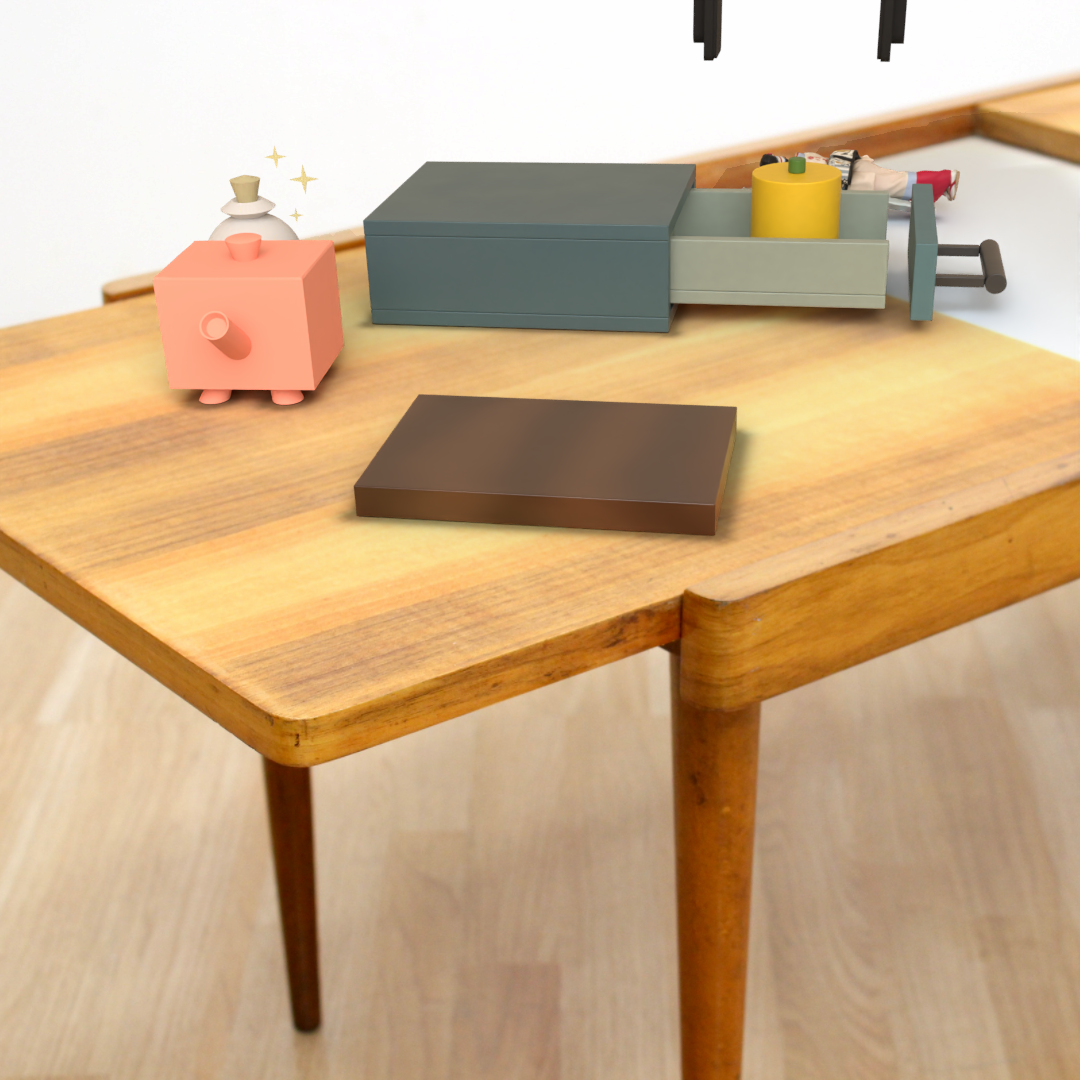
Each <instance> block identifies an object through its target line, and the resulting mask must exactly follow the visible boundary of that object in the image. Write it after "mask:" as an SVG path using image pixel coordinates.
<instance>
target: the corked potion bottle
mask: <svg viewBox="0 0 1080 1080" xmlns="http://www.w3.org/2000/svg"><path fill="white" fill-rule="evenodd" d="M264 158H266V159H271V160H273V161H274V162H273V163H274V164H275V167H276V169H278V160H280V159H283V158H287V156H286V155H281V154H278V152H277V150H276V146H275V145H273V154H272V155H269V156H268V155H267V156H264ZM316 180H318V178H317V177H311V176H307V174H306V171H305V168H304V165H303V164H302V165H301V174H300V176H299V177H294V178H290V179H289V181H294V182H299V183H301V184H302V187H303V191H304V194H305V195H306V194H307V183H309V182H312V181H316ZM260 181H261V177H259V176H256V175H248V174H243V175H238V176H236V177H233V178H230V179H229V181H228V182H229V183H230V186H231V188H232V189H231V190H232V191H233V193H234V196H235V197H233V198H231V199H230V200H229V201H228V202H227V203H225V204H224V205H223V206H221V207H220V212H221V213H222V214H223V213H224V214H225V215H228V216H229V217H227V218H225V219H224V220H222V221H221V222H220V223H219V224H217V226H216V227H215V228H214V230H213V231H212V232H211V234H210V236H209V237H208V240H207V241H225V239H226V238H227V237H229V236H231V235H234V234H238V233H255V234H259V235H261V240H300V238H299V237H298V234H297V233H296V232H295V231H294V229H293V228H292V227H291V226H290V225H289V224H288V223H286V222H285V221H284V220H283V219H281V218H279V217H277V216H275V215H273V214H271V213H269V212H270V211H272V210H274V209H275V208H276V206H277V205H276V203H275V202H274V201H271V200H270V199H267V198H265V197H263V196H262V195H258V194H259V189H260V183H261V182H260ZM288 216H289V217H294V219H295V221H296V222H298V220H299V219H298V217H302V216H304V214H300V213H298V211H297V208H296V207H295V208H294V214H293V213H292V214H290V215H288Z"/></svg>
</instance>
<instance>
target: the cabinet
mask: <svg viewBox="0 0 1080 1080" xmlns="http://www.w3.org/2000/svg"><path fill="white" fill-rule="evenodd" d="M696 177H697V164H696V163H635V162H634V163H633V162H631V163H630V162H626V163H624V162H537V161H536V162H535V161H533V162H532V161H525V162H524V161H521V162H520V161H519V162H518V161H435V160H434V161H432V160H431V161H426V162H424V163H423V164H422V165H421V166H420V167H419V168H418V169H417V170H416V171H415V172H413V174H412V175H410V176H409V177H408V178H407V179H406V180H405V181H404V182H402V184H400V186H399V187H398V188H396V190H394V191H393V192H392V193H391V194H389V196H387V198H386V199H385V200H384V201H382V202H381V203H380V204H379V205H377V207H376V208H375V209H373V211H371V212H370V213H369V214H368V215H367V216H366V217H365V218H364V219H363V220H362V224H363V234H364V235H363V236H364V247H365V258H366V268H367V279H368V280H367V281H368V290H369V291H368V293H369V303H370V311H371V313H370V314H371V322H372V324H377V325H378V324H380V325H406V326H410V325H411V326H412V325H413V326H437V327H438V326H441V327H442V326H443V327H474V328H476V327H477V328H503V329H505V328H506V329H507V328H508V329H510V328H511V329H541V330H542V329H543V330H568V331H569V330H570V331H571V330H573V331H604V332H605V331H606V332H607V331H608V332H634V333H635V332H637V333H639V332H640V333H641V332H642V333H669V332H670V329H671V327H672V324H673V321H674V318H675V317H676V314H677V310H678V308H679V305H680V303H670V236H671V234H672V231H673V229H674V227H675V224H676V222H677V220H678V217H679V215H680V213H681V210H682V208H683V206H684V203H685V201H686V199H687V196H688V194H689V192H690V190H691V188H697V178H696Z"/></svg>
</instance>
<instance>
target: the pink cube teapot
mask: <svg viewBox="0 0 1080 1080" xmlns="http://www.w3.org/2000/svg"><path fill="white" fill-rule="evenodd" d="M335 250H336V249H335V241H334V240H332V239H331V240H330V239H299V240H261V235H259V234H255V233H238V234H234V235H231V236H229V237H227V238H226V239H225V241H208V240H194V241H193V242H192V243H190V245H189V246H188V247H186V248H185V249H184V250H183V251H182V252H180V254H178V255H177V256H176V257H174V259H172V261H170V262H169V263H168V264H167V265H166V266H165V267H164V268H163V269H162V270H161V271H159V273H157V274H156V275H155V276H154V277H153V279H152V285H153V290H154V297H155V305H156V309H157V317H158V322H159V329H160V335H161V342H162V348H163V353H164V354H163V355H164V360H165V366H166V374H167V379H168V386H169V390H202V392H201V395H200V396H199V399H198V401H199V402H200V403H202V404H206V405H216V404H221V403H225V402H227V401H228V400H230V399H231V397H232V391H233V390H243V391H244V390H246V391H247V390H248V391H249V390H251V391H252V390H254V391H256V390H257V391H258V390H260V391H262V390H263V391H267V390H268V391H270V395H271V400H272V403H274V404H277V405H280V406H281V405H282V406H286V405H287V406H289V405H294V404H298V403H300V402H302V401H304V398H305V397H304V394H303V393H302V391H315V390H316V389H317V388H318V386H319V384H320V383H321V382H322V380H323V378H325V375H326V374H327V372H328V371H329V370H330V368H331V366H332V365H333V364H334V362H335V361H336V359H337V357H338V356H339V355H340V353H341V351H342V350H343V349H344V347H345V340H344V339H345V338H344V327H343V319H342V318H343V317H342V310H341V299H340V291H339V290H340V288H339V279H338V269H337V259H336V251H335Z"/></svg>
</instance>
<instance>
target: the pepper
mask: <svg viewBox="0 0 1080 1080" xmlns="http://www.w3.org/2000/svg"><path fill="white" fill-rule="evenodd" d="M788 160H789V161H788V162H781V163H773V164H768V165H764V166H761V167H760V166H758V167H756V168H755V169H753V170H752V173H751V189H752V193H751V234H750V237H761V238H815V239H839V219H840V200H841V180H842V172H841V171H840V170H839V169H838V168H836V167H833V166H830V165H826V164H821V163H813V162H806V159H805V158H804V157H794V156H790V157H789V158H788Z"/></svg>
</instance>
